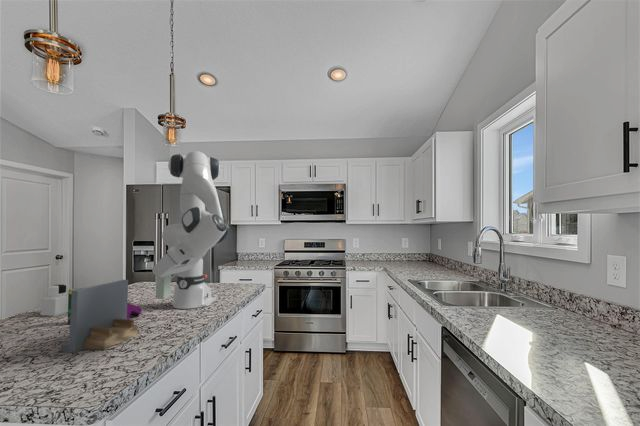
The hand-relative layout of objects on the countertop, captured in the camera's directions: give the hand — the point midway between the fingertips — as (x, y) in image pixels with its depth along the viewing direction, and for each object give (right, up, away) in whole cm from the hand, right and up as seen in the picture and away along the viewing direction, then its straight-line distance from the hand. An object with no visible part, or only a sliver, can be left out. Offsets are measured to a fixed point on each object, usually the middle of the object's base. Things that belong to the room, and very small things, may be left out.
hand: (163, 279), depth 109 cm
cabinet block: (0, -6, 0) cm, 6 cm away
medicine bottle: (-57, -19, +21) cm, 63 cm away
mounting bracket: (-23, -20, +12) cm, 33 cm away
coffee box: (-37, -19, +9) cm, 43 cm away
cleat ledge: (-12, -18, -10) cm, 24 cm away
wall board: (-18, -18, -9) cm, 27 cm away
